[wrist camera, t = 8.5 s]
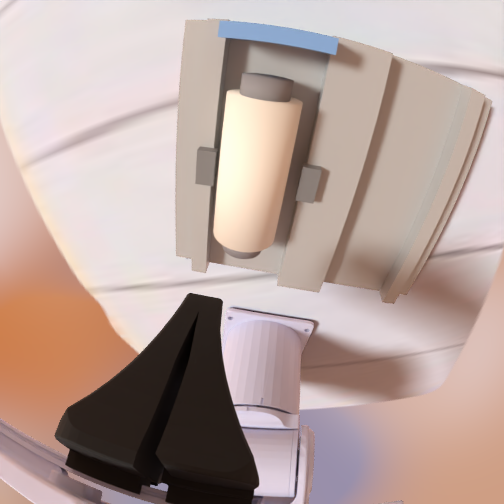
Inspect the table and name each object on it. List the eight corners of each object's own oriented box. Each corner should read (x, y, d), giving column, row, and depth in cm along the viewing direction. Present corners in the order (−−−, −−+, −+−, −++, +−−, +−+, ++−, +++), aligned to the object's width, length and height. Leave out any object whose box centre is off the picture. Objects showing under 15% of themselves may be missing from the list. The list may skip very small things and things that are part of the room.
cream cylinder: (276, 237, 20) (264, 272, 17) (223, 223, 20) (203, 256, 18) (309, 81, 14) (303, 87, 11) (241, 69, 14) (218, 73, 11)
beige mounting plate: (402, 282, 23) (415, 323, 20) (182, 243, 23) (163, 284, 20) (480, 95, 13) (520, 114, 10) (193, 21, 13) (164, 15, 10)
